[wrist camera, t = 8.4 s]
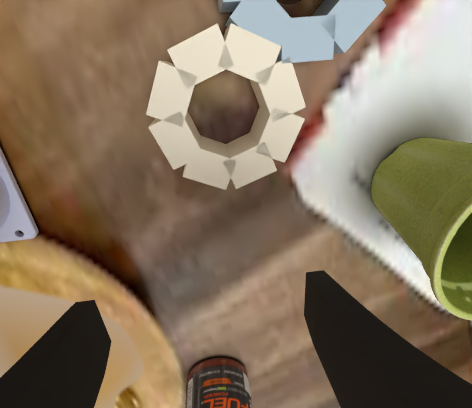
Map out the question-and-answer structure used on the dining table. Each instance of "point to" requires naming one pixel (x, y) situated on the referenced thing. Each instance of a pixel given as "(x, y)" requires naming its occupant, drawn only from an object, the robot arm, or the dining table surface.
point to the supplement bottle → (218, 385)
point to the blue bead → (304, 26)
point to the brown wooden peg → (289, 1)
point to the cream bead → (266, 121)
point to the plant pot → (432, 212)
